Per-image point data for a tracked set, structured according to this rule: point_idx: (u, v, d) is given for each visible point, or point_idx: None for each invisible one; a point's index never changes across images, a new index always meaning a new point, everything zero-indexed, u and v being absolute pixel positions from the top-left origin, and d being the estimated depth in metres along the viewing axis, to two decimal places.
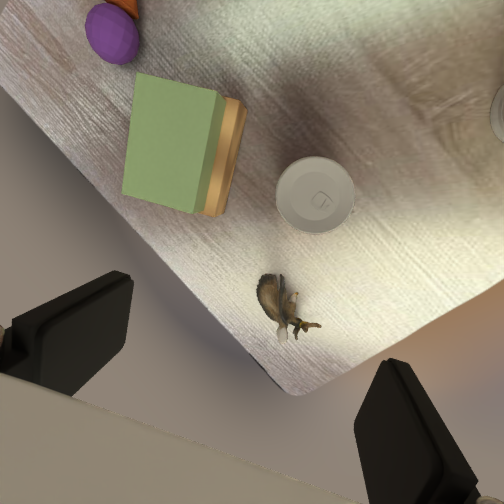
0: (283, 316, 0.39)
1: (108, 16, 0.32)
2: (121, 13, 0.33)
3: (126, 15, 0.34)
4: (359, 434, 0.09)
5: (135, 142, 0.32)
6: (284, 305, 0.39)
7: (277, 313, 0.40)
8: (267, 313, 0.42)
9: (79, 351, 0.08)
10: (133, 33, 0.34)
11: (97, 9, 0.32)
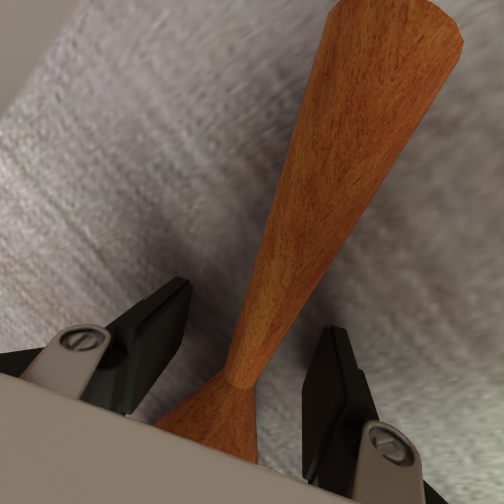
0: None
1: None
2: None
3: None
4: (304, 393, 0.11)
5: None
6: None
7: None
8: None
9: (157, 351, 0.09)
10: None
11: None
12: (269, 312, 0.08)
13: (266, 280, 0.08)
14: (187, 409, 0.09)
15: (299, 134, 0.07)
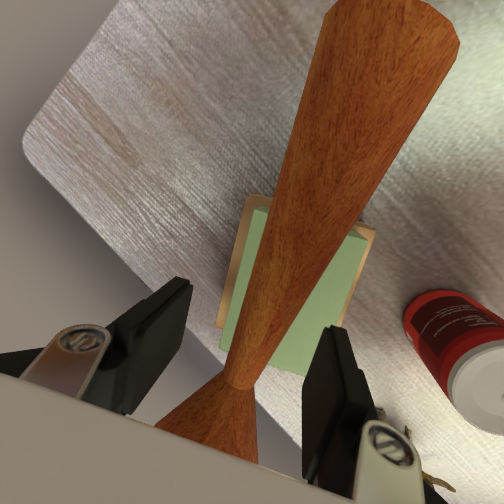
0: None
1: None
2: None
3: None
4: (304, 393, 0.11)
5: (244, 292, 0.24)
6: None
7: None
8: None
9: (157, 351, 0.09)
10: None
11: None
12: (268, 313, 0.08)
13: (265, 281, 0.08)
14: (187, 410, 0.09)
15: (296, 136, 0.07)
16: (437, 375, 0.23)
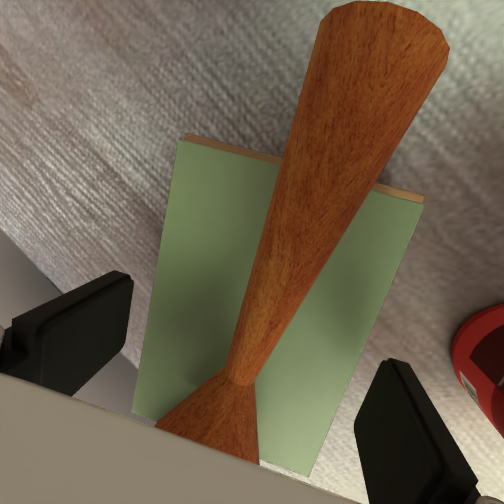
0: None
1: None
2: None
3: None
4: (359, 434, 0.09)
5: (170, 311, 0.12)
6: None
7: None
8: None
9: (79, 351, 0.08)
10: None
11: None
12: (268, 310, 0.08)
13: (264, 279, 0.08)
14: (190, 406, 0.09)
15: (294, 139, 0.07)
16: None
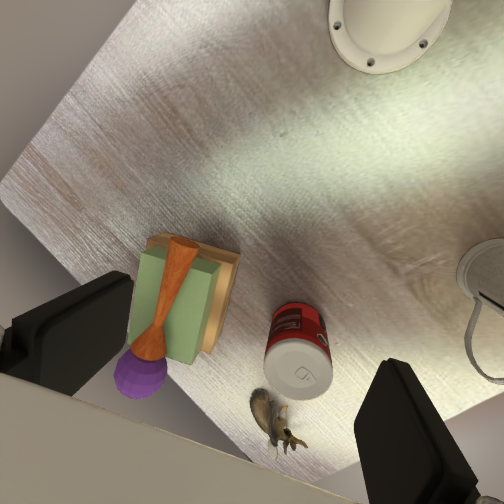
0: (273, 437, 0.43)
1: (139, 381, 0.32)
2: (151, 369, 0.32)
3: (156, 365, 0.33)
4: (359, 434, 0.09)
5: (140, 305, 0.36)
6: (274, 425, 0.43)
7: (268, 429, 0.44)
8: (259, 425, 0.46)
9: (79, 351, 0.08)
10: (162, 377, 0.33)
11: (127, 375, 0.31)
12: (161, 305, 0.32)
13: (160, 297, 0.31)
14: (143, 332, 0.33)
15: (165, 263, 0.31)
16: None
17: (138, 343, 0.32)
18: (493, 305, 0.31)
